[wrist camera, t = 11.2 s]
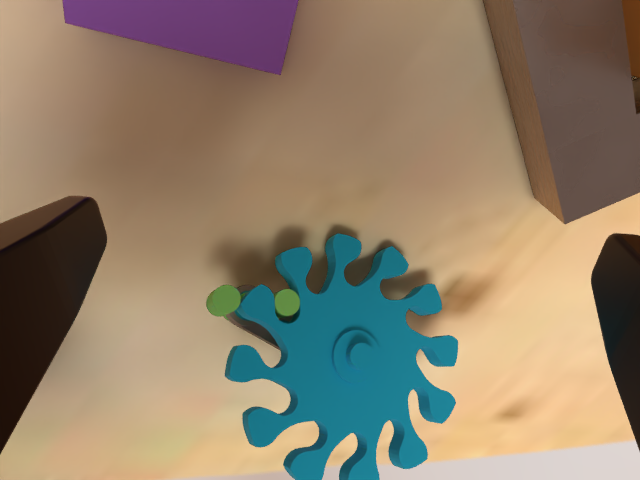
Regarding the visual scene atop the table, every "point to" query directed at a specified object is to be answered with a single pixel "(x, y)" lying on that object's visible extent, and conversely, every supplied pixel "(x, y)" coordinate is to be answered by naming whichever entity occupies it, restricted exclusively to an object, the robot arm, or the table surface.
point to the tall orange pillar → (632, 33)
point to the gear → (339, 359)
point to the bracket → (197, 26)
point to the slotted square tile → (571, 100)
